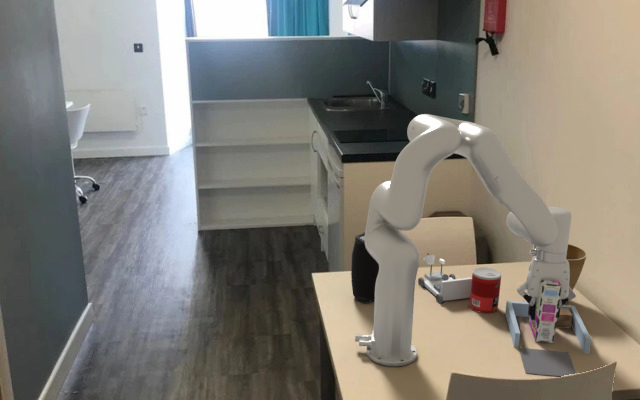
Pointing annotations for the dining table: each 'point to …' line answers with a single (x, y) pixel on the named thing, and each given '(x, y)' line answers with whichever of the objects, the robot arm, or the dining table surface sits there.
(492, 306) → the canned food
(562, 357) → the mat
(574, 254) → the plant pot
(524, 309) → the blue u-shaped frame
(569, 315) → the walnut block
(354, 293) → the portable speaker
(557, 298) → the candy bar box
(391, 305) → the robot arm
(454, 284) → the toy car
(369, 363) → the dining table surface
